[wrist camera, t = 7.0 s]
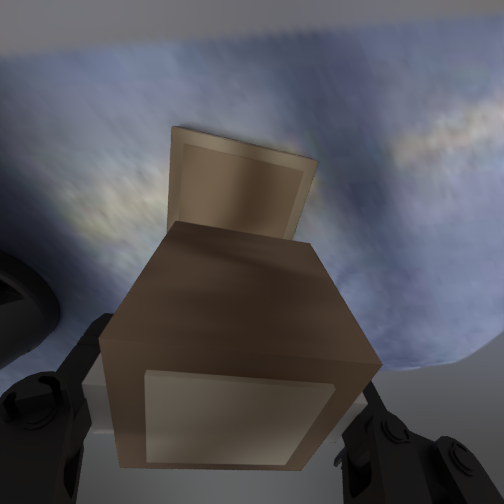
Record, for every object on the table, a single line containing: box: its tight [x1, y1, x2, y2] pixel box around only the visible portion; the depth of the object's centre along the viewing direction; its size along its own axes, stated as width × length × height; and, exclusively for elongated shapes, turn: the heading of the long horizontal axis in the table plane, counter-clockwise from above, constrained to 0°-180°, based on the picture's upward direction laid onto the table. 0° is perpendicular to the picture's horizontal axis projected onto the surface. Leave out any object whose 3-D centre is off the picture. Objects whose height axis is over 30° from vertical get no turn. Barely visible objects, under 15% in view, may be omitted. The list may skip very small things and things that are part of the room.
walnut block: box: [99, 220, 383, 471], centre depth 10 cm, size 7×7×7 cm
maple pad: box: [167, 126, 318, 240], centre depth 22 cm, size 12×14×2 cm
